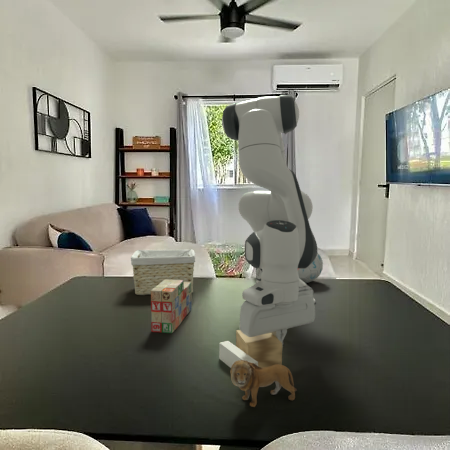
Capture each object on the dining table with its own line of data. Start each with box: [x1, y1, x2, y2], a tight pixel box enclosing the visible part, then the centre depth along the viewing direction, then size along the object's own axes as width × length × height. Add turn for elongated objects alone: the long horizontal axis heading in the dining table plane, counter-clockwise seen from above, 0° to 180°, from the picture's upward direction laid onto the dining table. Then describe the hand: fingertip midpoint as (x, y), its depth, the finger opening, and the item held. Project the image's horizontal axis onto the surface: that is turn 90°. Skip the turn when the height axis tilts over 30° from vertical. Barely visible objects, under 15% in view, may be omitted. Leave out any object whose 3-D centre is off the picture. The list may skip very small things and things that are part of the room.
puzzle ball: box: [298, 251, 324, 284], centre depth 168 cm, size 15×15×15 cm
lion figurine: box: [229, 360, 298, 408], centre depth 78 cm, size 15×5×9 cm, turn 114°
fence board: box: [218, 340, 258, 369], centre depth 91 cm, size 2×13×4 cm, turn 29°
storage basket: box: [130, 248, 196, 296], centre depth 155 cm, size 24×16×15 cm
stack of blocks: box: [150, 279, 192, 334], centre depth 122 cm, size 21×6×12 cm, turn 170°
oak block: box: [235, 329, 283, 368], centre depth 95 cm, size 8×10×6 cm
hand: (278, 346), depth 96 cm, fingers closed, pressing on oak block
